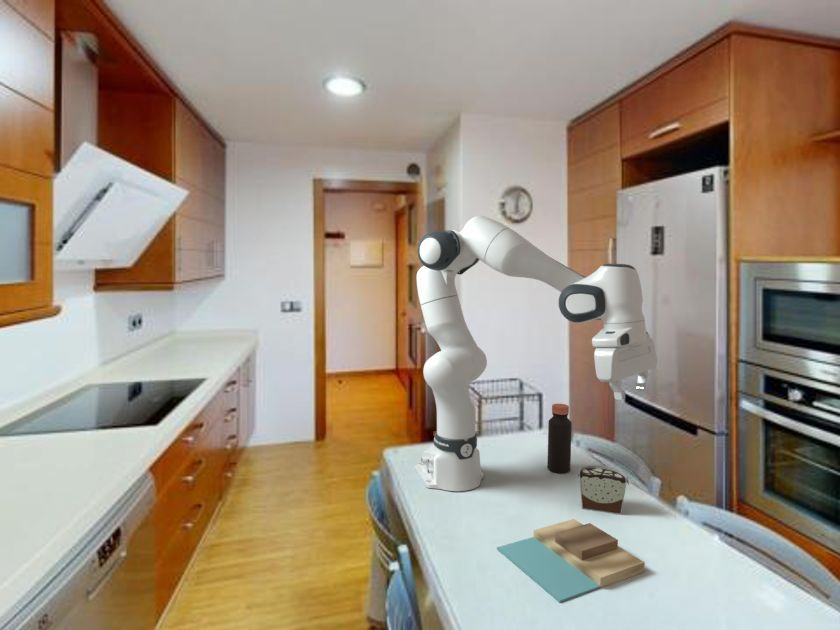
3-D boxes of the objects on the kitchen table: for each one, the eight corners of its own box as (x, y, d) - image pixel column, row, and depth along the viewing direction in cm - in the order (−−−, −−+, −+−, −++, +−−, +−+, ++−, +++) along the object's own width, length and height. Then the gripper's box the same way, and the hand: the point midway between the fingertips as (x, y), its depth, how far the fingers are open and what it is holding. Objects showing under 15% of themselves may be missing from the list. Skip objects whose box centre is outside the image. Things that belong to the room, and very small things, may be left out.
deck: (533, 538, 115) (533, 530, 115) (573, 527, 120) (574, 519, 120) (600, 587, 97) (600, 577, 97) (644, 571, 102) (644, 562, 102)
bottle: (573, 468, 156) (574, 404, 155) (566, 475, 151) (568, 409, 149) (551, 463, 160) (553, 401, 158) (544, 470, 154) (545, 406, 153)
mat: (496, 549, 111) (496, 547, 111) (533, 538, 115) (533, 537, 115) (559, 602, 93) (559, 600, 93) (600, 587, 97) (600, 585, 97)
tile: (554, 541, 110) (555, 532, 110) (589, 531, 114) (589, 523, 114) (581, 560, 103) (582, 551, 103) (617, 548, 107) (617, 539, 107)
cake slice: (626, 505, 132) (627, 467, 131) (627, 515, 126) (629, 476, 125) (576, 498, 136) (577, 461, 135) (576, 508, 130) (577, 470, 129)
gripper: (635, 328, 124) (641, 384, 124) (587, 340, 111) (593, 403, 111) (661, 328, 119) (666, 386, 119) (613, 340, 106) (620, 405, 106)
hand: (631, 394), depth 115 cm, fingers open, 8 cm apart
